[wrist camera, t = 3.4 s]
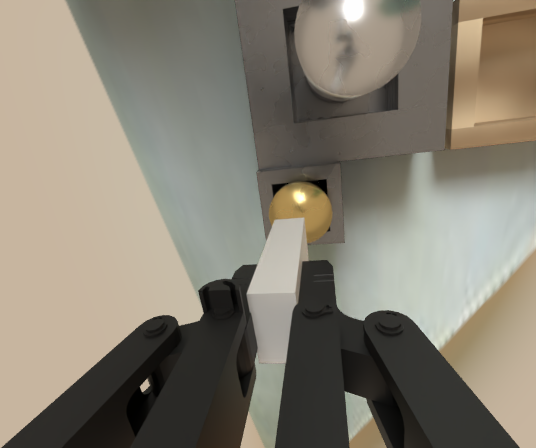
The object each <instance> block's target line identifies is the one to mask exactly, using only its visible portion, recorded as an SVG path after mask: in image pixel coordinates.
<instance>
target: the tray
mask: <svg viewBox="0 0 536 448" xmlns="http://www.w3.org/2000/svg"><path fill="white" fill-rule="evenodd" d="M526 141H536V0H455V1H454V2H453V9H452V27H451V45H450V62H449V80H448V98H447V116H446V134H445V148H446V149H450V150H452V149H462V148H471V147H480V146H489V145H499V144H508V143H517V142H526Z"/></svg>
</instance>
